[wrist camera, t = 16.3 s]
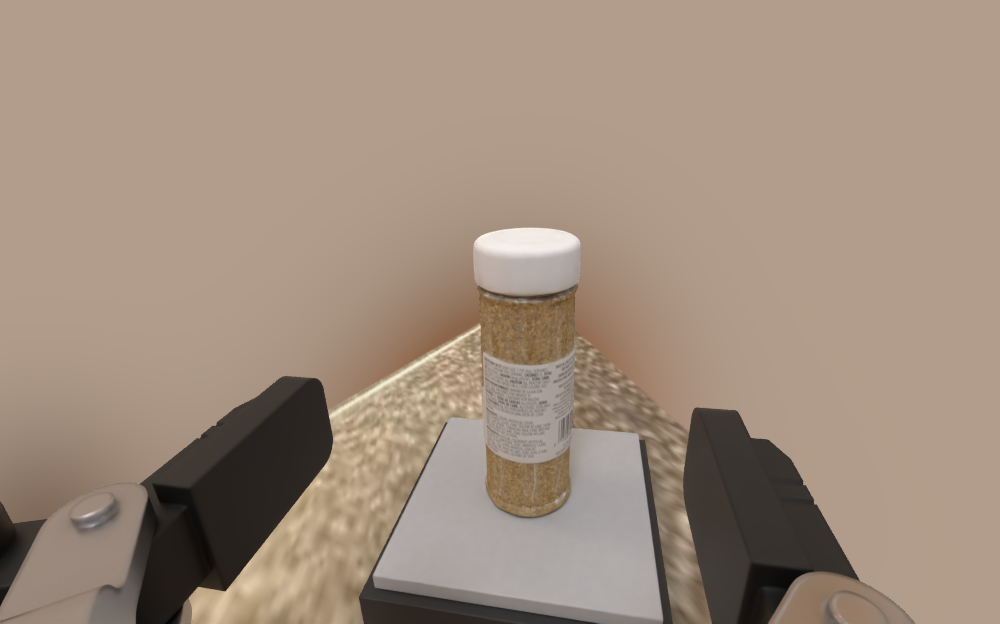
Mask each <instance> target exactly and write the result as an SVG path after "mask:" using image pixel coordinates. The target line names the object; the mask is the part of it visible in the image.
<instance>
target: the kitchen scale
mask: <svg viewBox="0 0 1000 624" xmlns="http://www.w3.org/2000/svg"><path fill="white" fill-rule="evenodd" d="M486 474H487V466H486V442H485V439H484V428H483V420H477V419H466V418H454V417H450V419H449V421H448V422H446V423H445V425H444V427H443V429H442V431H441V433H440V435H439V437H438V439H437V441H436V443H435V445H434V447H433V449H432V451H431V453H430V455H429V457H428V459H427V461H426V463H425V465H424V467H423V469H422V471H421V473H420V475H419V477H418V479H417V481H416V483H415V485H414V487H413V489H412V491H411V493H410V495H409V498H408V500H407V502H406V504H405V506H404V508H403V510H402V512H401V514H400V516H399V518H398V520H397V522H396V524H395V526H394V528H393V530H392V532H391V534H390V536H389V538H388V540H387V542H386V544H385V546H384V548H383V550H382V552H381V554H380V556H379V558H378V560H377V562H376V564H375V566H374V568H373V570H372V572H371V574H370V576H369V578H368V580H367V582H366V584H365V586H364V588H363V590H362V592H361V594H360V596H359V600H360V606H361V611H362V616H363V621H364V624H673V622H672V615H671V609H670V602H669V595H668V589H667V582H666V576H665V569H664V563H663V556H662V550H661V543H660V537H659V530H658V524H657V517H656V511H655V504H654V497H653V491H652V484H651V478H650V471H649V465H648V458H647V452H646V445H645V440H639V436H638V434H637V433H625V432H614V431H602V430H591V429H580V428H572V440H571V443H570V456H569V476H570V479H571V489H570V493H569V495H568V497H567V499H566V501H565V502H564V503H563V504H562V505H561V507H559V508H557V509H556V510H554V511H552V512H550V513H547V514H543V515H541V516H535V517H526V516H518V515H515V514H512V513H509V512H507V511H505V510H502V509H500V508H499V507H497V506H496V505H495V503H494V502H493V501H492V500H491V498H490V497H489V495H488V493H487V491H486V485H485V477H486Z"/></svg>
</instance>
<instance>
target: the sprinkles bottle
mask: <svg viewBox="0 0 1000 624" xmlns="http://www.w3.org/2000/svg"><path fill="white" fill-rule="evenodd" d="M473 255H474V279H475V282H476V283H477V285H479V286H478V287H477V289H478V291H479V293H480V297H479V300H480V314H481V315H480V319H481V355H482V407H483V428H484V439H485V442H486V466H487V474H486V477H485V485H486V491H487V493H488V495H489V497H490V498H491V500H492V501H493V502H494V503H495V505H496V506H497V507H499V508H500V509H502V510H505V511H507V512H509V513H512V514H515V515H518V516H526V517H535V516H541V515H543V514H547V513H550V512H552V511H554V510H556V509H557V508H559V507H561V505H562V504H563V503H564V502H565V501H566V499H567V497H568V495H569V493H570V489H571V479H570V476H569V456H570V443H571V440H572V419H573V395H574V362H575V343H574V329H575V323H574V322H575V321H574V313H575V292H576V291H577V288H578V284H577V283H578V281H579V280H580V261H581V259H580V241H579V239H578V238H577V237H576V236H574V235H573V234H570V233H568V232H565V231H560V230H554V229H545V228H515V229H506V230H499V231H494V232H490V233H487V234H484V235H482V236H480V237H479V238H478V239H476V241H475V242H474V247H473Z"/></svg>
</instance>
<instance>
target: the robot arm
mask: <svg viewBox="0 0 1000 624" xmlns="http://www.w3.org/2000/svg"><path fill="white" fill-rule="evenodd" d="M332 445H333V436H332V430H331V425H330V420H329V414H328V409H327V404H326V399H325V394H324V389H323V386H322V383H321V382H320V381H319V380H318V379H316V378H304V377H303V378H302V377H290V376H284V377H282V378H280V379H278V380H277V381H276V382H275V383H273V384H272V385H271V386H270V387H269V388H267V389H266V390H265V391H264V392H262V393H261V394H260V395H259V396H258V397H256V398H254V399H252V400H250V401H248V402H246V403H244V404H242V405H240V406H238V407H236V408H234V409H233V410H232V411H231V412H229V413H228V414H227V415H226V416H224V417H223V418H222V419H221V420H219V421H218V422H217V425H216V426H212V427H211V428H210V429H208V430H207V431H206V432H204V433H203V434H202V435H201V438H200V439H199V438H197V439H196V440H194V441H193V442H192V443H191V444H190V445H188V446H187V447H186V448H184V449H183V450H182V451H181V452H179V453H178V454H177V455H176V456H174V457H173V458H172V459H171V460H169V461H168V462H167V463H166V464H164V465H163V466H162V467H161V468H159V469H158V470H157V471H156V472H154V473H153V474H152V475H151V476H149V477H148V478H147V479H146V480H144V481H143V482H142V483H141V484H136V483H118V484H113V485H109V486H105V487H101V488H98V489H96V490H93V491H91V492H88V493H86V494H84V495H82V496H79V497H78V498H76V499H74V500H72V501H70V502H69V503H67V504H66V505H64V506H63V507H61V508H60V509H59V510H58V511H56V512H55V513H54V514H53V515H51V516H50V517H49V518H48V519H44V520H36V521H29V522H21V523H14V524H13V523H12V521H11V519H10V517H9V516H8V514H7V512H6V510H5V508H4V506H3V504H2V503H1V502H0V624H191V617H192V607H191V603H190V601H189V597H190V596H191V594H192V593H193V592H194V591H195V590H196V588H197V587H203V588H209V589H215V590H221V591H226V590H227V589H228V587H229V586H230V585H231V584H232V582H233V581H234V580H235V579H236V577H237V576H238V575H239V574H240V572H241V571H242V570H243V568H244V567H245V566H246V565H247V563H248V562H249V561H250V560H251V558H252V557H253V556H254V554H255V553H256V552H257V551H258V549H259V548H260V547H261V546H262V544H263V543H264V542H265V540H266V539H267V538H268V537H269V535H270V534H271V533H272V532H273V530H274V529H275V528H276V526H277V525H278V524H279V523H280V521H281V520H282V519H283V518H284V516H285V515H286V514H287V512H288V511H289V510H290V509H291V507H292V506H293V505H294V504H295V502H296V501H297V500H298V499H299V497H300V496H301V495H302V493H303V492H304V491H305V490H306V488H307V487H308V486H309V485H310V483H311V482H312V481H313V479H314V478H315V477H316V476H317V474H318V473H319V472H320V471H321V469H322V468H323V467H324V465H325V464H326V463H327V461H328V459H329V457H330V454H331V450H332ZM683 489H684V500H685V506H686V511H687V515H688V519H689V524H690V528H691V532H692V537H693V541H694V546H695V550H696V554H697V559H698V563H699V568H700V572H701V576H702V581H703V585H704V590H705V594H706V598H707V603H708V607H709V612H710V616H711V620H712V624H915V623H914V621H913V620H912V619H911V618H910V617H909V616H908V614H906V613H905V611H904V610H903V609H901V608H900V607H899V606H898V605H897V604H896V603H894V602H893V601H892V600H891V599H889V598H888V597H887V596H885V595H884V594H882V593H880V592H879V591H877V590H876V589H874V588H872V587H871V586H868V585H867V584H865V583H863V582H861V581H860V580H859V578H858V577H857V575H856V573H855V571H854V570H853V568H852V566H851V564H850V563H849V561H848V560H847V557H846V555H845V554H844V552H843V550H842V548H841V547H840V545H839V543H838V542H837V540H836V538H835V536H834V534H833V533H832V531H831V529H830V527H829V526H828V524H827V522H826V520H825V519H824V517H823V515H822V513H821V511H820V510H819V508H818V506H817V505H814V499H813V497H812V496H811V494H810V492H809V490H808V489H807V487H806V485H803V480H802V478H801V477H800V475H799V473H798V471H797V469H796V468H795V466H794V464H793V462H792V460H791V459H790V458H789V457H788V456H787V455H785V454H784V453H783V452H782V451H781V450H780V449H778V448H777V447H776V446H775V445H774V444H773V443H771V442H770V441H769V440H767V439H755V438H751V437H750V435H749V433H748V431H747V429H746V427H745V425H744V423H743V421H742V419H741V417H740V415H739V413H738V412H737V411H736V410H723V409H709V408H695V409H694V410H693V413H692V418H691V424H690V432H689V439H688V446H687V453H686V460H685V467H684V477H683Z"/></svg>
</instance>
